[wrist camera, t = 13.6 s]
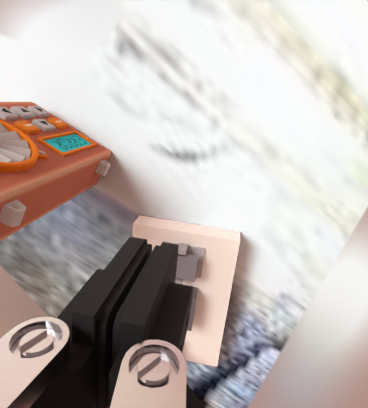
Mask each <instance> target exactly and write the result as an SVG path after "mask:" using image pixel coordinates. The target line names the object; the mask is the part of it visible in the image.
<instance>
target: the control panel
mask: <svg viewBox="0 0 368 408" xmlns="http://www.w3.org/2000/svg"><path fill="white" fill-rule="evenodd" d="M110 155H111V151H110V150H108V149H107V148H105V147H103V146H102V145H100V144H98V143H97V142H95V141H94V140H92V139H90V138H89V137H87V136H86V135H84V134H82V133H81V132H79V131H77V130H76V129H74V128H73V127H71V126H69V125H68V124H66V123H65V122H63V121H62V120H60V119H58V118H56V117H55V116H53V115H52V114H50V113H49V112H47V111H45V110H44V109H42V108H41V107H39V106H37V105H36V104H34V103H32V102H0V241H1V240H3V239H4V238H6V237H8V236H10V235H11V234H13V233H15V232H16V231H18V230H20V229H21V228H23V227H25V226H26V225H28V224H30V223H31V222H33V221H35V220H36V219H38V218H40V217H41V216H43V215H45V214H47V213H48V212H50V211H52V210H53V209H55V208H57V207H58V206H60V205H62V204H63V203H65V202H67V201H68V200H70V199H72V198H73V197H75V196H77V195H78V194H80V193H82V192H84V191H85V190H87V189H89V188H90V187H92V186H94V185H95V184H97V182H98V180H99V178H100V176H101V175H102V176H106V174H107V172H108V170H109V168H110V166H111V164H110V163H108V162H107V161H108V159H109V157H110Z"/></svg>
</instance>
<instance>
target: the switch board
mask: <svg viewBox="0 0 368 408" xmlns="http://www.w3.org/2000/svg"><path fill="white" fill-rule="evenodd" d="M132 237H136V238H142V239H147V244H152V251H153V249H154V247H155V246H156V245H158V246H161V244H162V242H166V243H172V244H178V245H179V250H178V254H181V255H186V253H187V254H190V255H194V256H198V257H199V262H198V270H197V277H196V280H195V282H190V281H187V280H183V279H180V278H176V280H175V283H178V284H183V285H189V286H193V296H192V304H191V311H190V317H189V323H188V328H187V333H186V338H185V342H184V347H183V351H182V354H183V356H184V358H185V360H187V361H192V362H196V363H201V364H205V365H210V366H215V367H217V364H218V359H219V353H220V348H221V342H222V337H223V332H224V326H225V321H226V315H227V310H228V305H229V299H230V294H231V288H232V283H233V278H234V272H235V267H236V261H237V256H238V251H239V245H240V231H234V230H228V229H222V228H215V227H209V226H203V225H197V224H191V223H184V222H178V221H172V220H166V219H160V218H153V217H147V216H141V215H140V216H139V217H138V218H137V219H136V220H135V221H134V223H133V230H132Z"/></svg>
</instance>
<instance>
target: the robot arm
mask: <svg viewBox="0 0 368 408" xmlns="http://www.w3.org/2000/svg"><path fill="white" fill-rule="evenodd" d="M178 250H179V245H178V244H172V243H166V242H162V244H161V246H158V245H156V246H155V247H154V249H153V251H152V244H147V239H142V238H136V237H130V238H129V239H128V240H127V242H126V243H125V244H124V245H123V247H122V248H121V249H120V250H119V252H118V253H117V254H116V256H115V257H114V258H113V259H112V261H111V262H110V263H109V264H108V266H107V267H106V268H105V269H104V270H102V269H98V270H97V271H96V272H95V273H94V274H93V275H92V276H91V278H90V279H89V280H88V281H87V282H86V284H85V285H84V286H83V287H82V288H81V290H80V291H79V292H78V293H77V294H76V296H75V297H74V298H73V299H72V300H71V302H70V303H69V304H68V305H67V306H66V308H65V309H64V310H63V311H62V312H61V314H60V315H59V316H58V317H57V318H53V317H38V318H34V319H30V320H28V321H26V322H23V323H20V324H19V325H18V326H16V327H14V328H13V329H11V330H10V331H9V332H8V333H6V334H5V335H4V336H3V337H2V338H0V408H205V407H204V406H203V405H202V403H201V402H200V401H199V399H198V398H197V397H196V395H195V394H194V393H193V391H192V390H191V388H190V387H189V386H188V384H187V383H186V373H187V367H186V361H185V358H184V356H183V354H182V351H183V347H184V342H185V338H186V333H187V328H188V323H189V317H190V311H191V304H192V296H193V286H189V285H183V284H178V283H175V280H176V270H177V260H178Z"/></svg>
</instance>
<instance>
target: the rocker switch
mask: <svg viewBox="0 0 368 408" xmlns="http://www.w3.org/2000/svg"><path fill="white" fill-rule="evenodd" d="M198 262H199V257H198V256H194V255H190V254H187V253H186V255H181V254H178V260H177V270H176V278H180V279H183V280H187V281H190V282H195V280H196V277H197V270H198Z"/></svg>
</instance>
